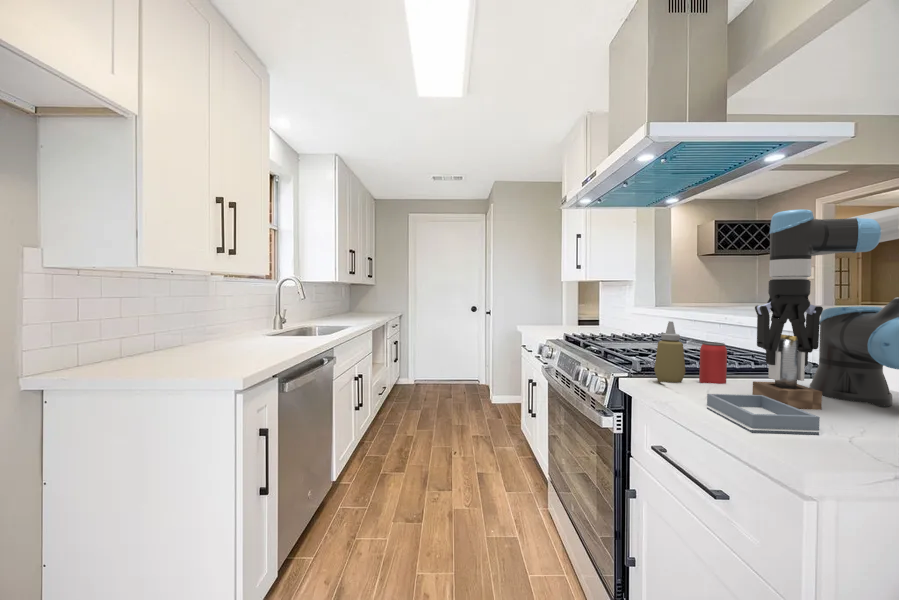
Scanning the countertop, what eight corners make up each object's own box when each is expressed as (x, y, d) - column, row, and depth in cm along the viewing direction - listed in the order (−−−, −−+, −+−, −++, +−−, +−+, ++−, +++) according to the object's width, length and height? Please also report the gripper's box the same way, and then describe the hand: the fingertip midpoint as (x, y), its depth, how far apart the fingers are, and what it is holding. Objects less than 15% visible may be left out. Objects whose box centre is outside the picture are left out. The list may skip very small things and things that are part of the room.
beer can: (730, 387, 116) (731, 344, 116) (704, 386, 118) (705, 344, 117) (720, 382, 123) (721, 342, 123) (695, 381, 124) (696, 341, 124)
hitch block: (791, 402, 101) (791, 382, 101) (821, 414, 92) (822, 391, 92) (752, 401, 102) (752, 381, 102) (778, 412, 93) (779, 390, 93)
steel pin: (785, 400, 100) (786, 333, 100) (802, 406, 94) (804, 336, 94) (767, 399, 100) (769, 333, 100) (783, 406, 95) (785, 336, 94)
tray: (762, 410, 95) (762, 395, 95) (818, 435, 79) (819, 416, 79) (706, 408, 96) (707, 393, 95) (752, 433, 80) (752, 414, 80)
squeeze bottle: (666, 379, 127) (668, 320, 126) (691, 385, 119) (693, 322, 119) (647, 381, 123) (649, 320, 123) (672, 387, 116) (673, 323, 115)
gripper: (816, 279, 99) (813, 376, 100) (739, 278, 101) (736, 374, 101) (844, 278, 92) (840, 383, 93) (759, 278, 93) (756, 381, 94)
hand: (786, 379), depth 97 cm, fingers open, 4 cm apart
